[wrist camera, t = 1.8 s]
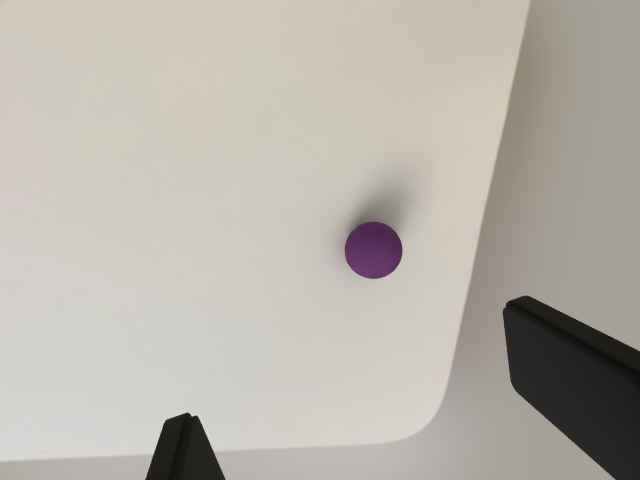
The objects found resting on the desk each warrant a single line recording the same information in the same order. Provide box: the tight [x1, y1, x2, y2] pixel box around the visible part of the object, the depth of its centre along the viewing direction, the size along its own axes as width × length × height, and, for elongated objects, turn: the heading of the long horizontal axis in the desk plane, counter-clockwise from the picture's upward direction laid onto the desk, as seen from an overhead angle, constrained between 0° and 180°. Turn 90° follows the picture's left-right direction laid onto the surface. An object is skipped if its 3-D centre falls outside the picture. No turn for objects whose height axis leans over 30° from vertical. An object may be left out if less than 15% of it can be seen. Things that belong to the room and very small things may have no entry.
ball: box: [345, 222, 402, 279], centre depth 24 cm, size 4×4×4 cm
